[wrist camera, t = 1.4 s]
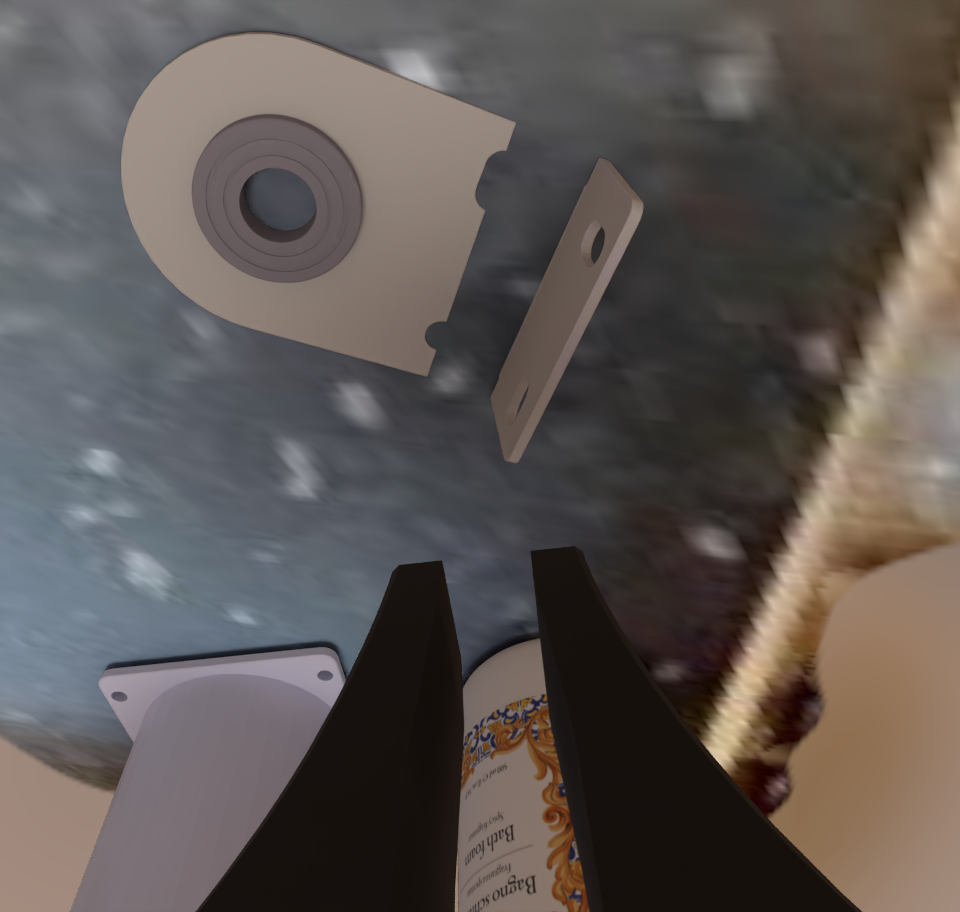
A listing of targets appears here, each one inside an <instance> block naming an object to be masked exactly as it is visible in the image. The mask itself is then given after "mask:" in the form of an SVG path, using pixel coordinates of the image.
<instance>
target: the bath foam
mask: <svg viewBox="0 0 960 912" xmlns="http://www.w3.org/2000/svg"><path fill="white" fill-rule="evenodd" d="M463 706H464V743H463V761H462V778H461V795H460V812H459V829H458V912H589V907H588V901H587V896H586V890H585V884H584V879H583V873H582V868H581V864H580V859H579V854H578V850H577V845H576V840H575V836H574V831H573V826H572V822H571V817H570V813H569V808H568V803H567V799H566V794H565V789H564V785H563V780H562V775H561V771H560V766H559V761H558V757H557V752H556V747H555V743H554V738H553V733H552V728H551V724H550V719H549V711H548V703H547V694H546V686H545V677H544V669H543V660H542V652H541V643H540V638H539V639H534V640H530V641H526V642H522V643H519V644H516V645H514V646H511V647H509V648H506V649H504V650H502V651H500V652H498V653H497V654H495V655H493V656H492V657H490V658H489V659H488V660H486V661H485V662H484V663H482V664H481V665H480V666H479V667H478V668H477V669H476V670H475V671H474V672H473V674H472V675H471V676H470V677H469V679H468V680H467V682H466V684H465V685H464V687H463Z"/></svg>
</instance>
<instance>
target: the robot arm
mask: <svg viewBox="0 0 960 912" xmlns="http://www.w3.org/2000/svg"><path fill="white" fill-rule="evenodd" d="M531 559H532V568H533V578H534V587H535V596H536V605H537V615H538V624H539V633H540V643H541V652H542V660H543V669H544V677H545V686H546V694H547V703H548V711H549V719H550V724H551V728H552V733H553V738H554V743H555V747H556V752H557V757H558V761H559V766H560V771H561V775H562V780H563V785H564V789H565V794H566V799H567V803H568V808H569V813H570V817H571V822H572V826H573V831H574V836H575V840H576V845H577V850H578V854H579V859H580V864H581V868H582V873H583V879H584V884H585V890H586V896H587V901H588V907H589V912H862V911H861V910H860V909H859V908H857V907H856V906H855V905H854V904H853V903H852V902H851V901H850V900H849V899H848V898H847V897H846V896H844V895H843V894H842V893H841V892H840V891H839V890H838V889H837V888H836V887H835V886H834V885H833V884H832V883H831V882H830V881H829V880H828V879H827V878H826V877H825V876H824V875H823V874H822V873H821V872H820V871H819V870H818V869H817V868H816V867H815V866H814V865H813V864H812V863H811V862H810V861H809V860H808V859H807V858H806V857H805V856H804V855H803V854H802V853H801V852H800V851H799V850H798V849H797V848H796V847H795V846H794V845H793V844H792V843H791V842H790V841H789V840H788V839H787V838H786V837H785V836H784V835H783V834H782V833H781V832H780V831H779V830H778V829H777V828H776V827H775V826H774V825H773V824H772V822H771V821H770V820H769V819H768V818H767V817H766V816H765V815H764V814H763V813H762V812H761V811H760V809H759V808H758V807H757V806H756V805H755V804H754V803H753V802H752V801H751V799H750V798H749V797H748V796H747V795H746V794H745V793H744V792H743V791H742V790H741V788H740V787H739V786H738V785H737V784H736V783H735V782H734V781H733V779H732V778H731V777H730V776H729V775H728V774H727V772H726V771H725V770H724V769H723V768H722V766H721V765H720V764H719V763H718V762H717V761H716V759H715V758H714V757H713V756H712V755H711V754H710V752H709V751H708V750H707V749H706V747H705V746H704V745H703V744H702V742H701V741H700V740H699V739H698V738H697V736H696V735H695V734H694V732H693V731H692V730H691V729H690V727H689V726H688V725H687V723H686V722H685V721H684V720H683V718H682V717H681V716H680V714H679V713H678V712H677V710H676V709H675V707H674V706H673V705H672V703H671V702H670V701H669V699H668V698H667V697H666V695H665V694H664V693H663V691H662V690H661V688H660V687H659V686H658V684H657V683H656V681H655V680H654V678H653V677H652V676H651V674H650V673H649V671H648V670H647V668H646V667H645V665H644V664H643V662H642V661H641V659H640V658H639V656H638V654H637V653H636V651H635V650H634V648H633V647H632V645H631V644H630V642H629V641H628V639H627V638H626V636H625V634H624V633H623V631H622V630H621V628H620V626H619V625H618V623H617V621H616V620H615V618H614V616H613V614H612V612H611V611H610V609H609V607H608V605H607V604H606V602H605V600H604V598H603V596H602V594H601V592H600V590H599V589H598V587H597V585H596V583H595V580H594V578H593V576H592V574H591V572H590V569H589V567H588V565H587V562H586V560H585V557H584V554H583V552H582V551H581V550H579V549H578V548H576V547H575V546H572V547H563V548H553V549H544V550H535V551H531ZM323 670H325V671H323ZM98 684H99V687H100V689H101V691H102V692H103V694H104V696H105V697H106V699H107V701H108V702H109V704H110V705H111V707H112V709H113V710H114V712H115V714H116V715H117V717H118V718H119V720H120V722H121V723H122V725H123V727H124V728H125V730H126V731H127V733H128V735H129V736H130V738H131V740H132V741H133V743H134V744H133V746H132V749H131V752H130V754H129V757H128V760H127V762H126V765H125V768H124V770H123V773H122V776H121V778H120V781H119V783H118V786H117V789H116V791H115V794H114V797H113V799H112V802H111V805H110V807H109V810H108V813H107V815H106V818H105V820H104V823H103V826H102V828H101V831H100V834H99V836H98V839H97V842H96V844H95V847H94V849H93V853H92V855H91V857H90V860H89V863H88V865H87V868H86V871H85V873H84V876H83V878H82V881H81V884H80V886H79V889H78V892H77V894H76V897H75V900H74V903H73V905H72V907H71V910H70V912H455V879H456V862H457V846H458V829H459V812H460V795H461V778H462V761H463V743H464V706H463V685H462V665H461V655H460V650H459V645H458V640H457V634H456V629H455V624H454V619H453V614H452V609H451V604H450V599H449V594H448V589H447V584H446V579H445V573H444V568H443V563H442V561H433V562H423V563H414V564H405V565H399V566H398V567H397V568H396V569H395V570H394V571H393V572H392V575H391V578H390V581H389V584H388V587H387V590H386V592H385V595H384V597H383V600H382V603H381V605H380V608H379V610H378V613H377V615H376V617H375V620H374V622H373V624H372V627H371V629H370V631H369V633H368V636H367V638H366V640H365V642H364V645H363V647H362V649H361V651H360V653H359V655H358V657H357V659H356V661H355V663H354V665H353V667H352V669H351V671H350V673H349V675H348V678H347V680H346V679H345V676H344V673H343V670H342V667H341V664H340V660H339V657H338V655H337V654H336V652H335V651H333V650H332V649H330V648H326V647H316V648H307V649H297V650H287V651H278V652H268V653H258V654H249V655H239V656H229V657H220V658H210V659H200V660H191V661H181V662H171V663H162V664H152V665H142V666H133V667H123V668H113V669H109V670H106V671H104V672H103V673H102V676H101V678H100V680H99V683H98Z"/></svg>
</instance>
